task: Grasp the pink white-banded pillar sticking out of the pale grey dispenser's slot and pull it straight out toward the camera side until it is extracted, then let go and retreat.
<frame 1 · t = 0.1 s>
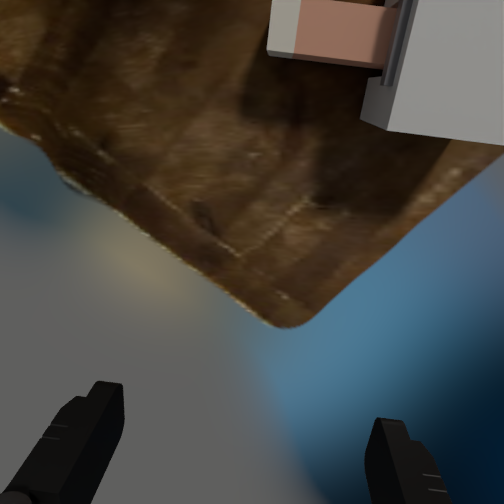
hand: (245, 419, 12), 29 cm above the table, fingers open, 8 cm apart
pink white-banded pillar: (375, 40, 30), point 3 cm above the table, slide at 0.0 cm
dispenser: (427, 52, 33), on the table
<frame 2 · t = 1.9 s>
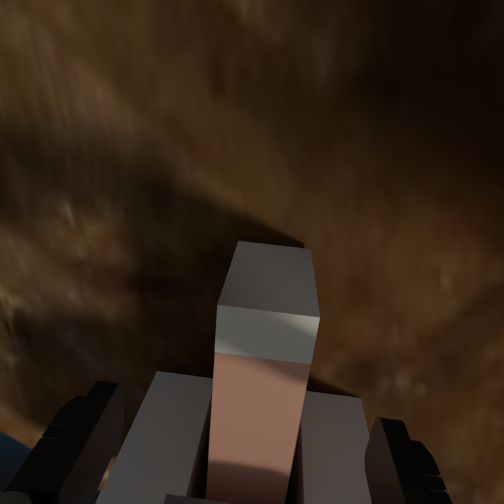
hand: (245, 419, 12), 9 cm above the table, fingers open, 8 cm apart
pink white-banded pillar: (253, 419, 19), point 3 cm above the table, slide at 0.0 cm
dispenser: (250, 439, 24), on the table
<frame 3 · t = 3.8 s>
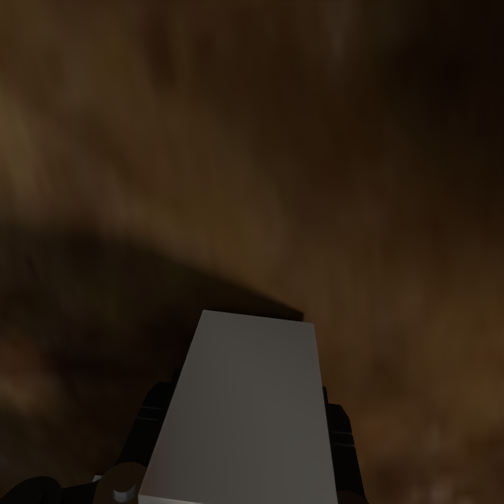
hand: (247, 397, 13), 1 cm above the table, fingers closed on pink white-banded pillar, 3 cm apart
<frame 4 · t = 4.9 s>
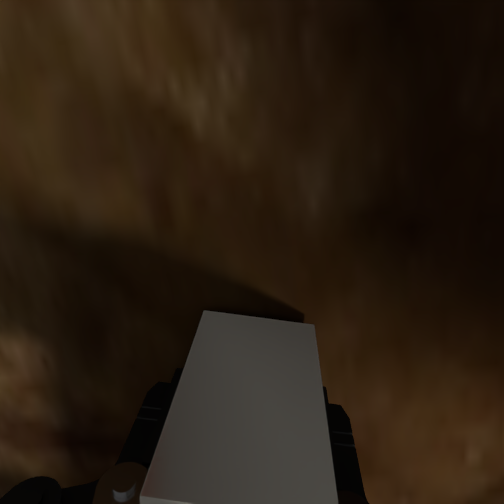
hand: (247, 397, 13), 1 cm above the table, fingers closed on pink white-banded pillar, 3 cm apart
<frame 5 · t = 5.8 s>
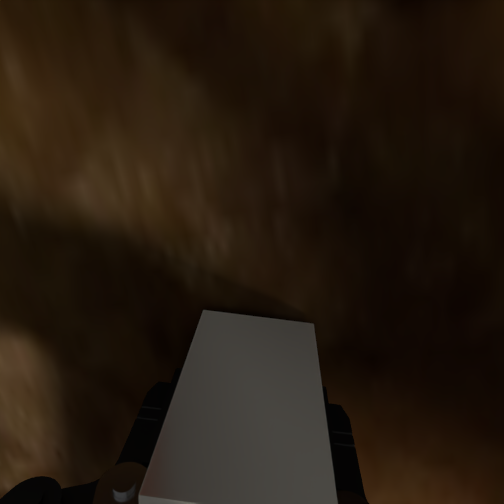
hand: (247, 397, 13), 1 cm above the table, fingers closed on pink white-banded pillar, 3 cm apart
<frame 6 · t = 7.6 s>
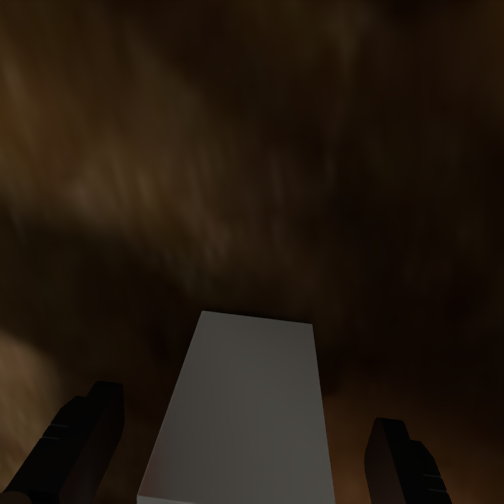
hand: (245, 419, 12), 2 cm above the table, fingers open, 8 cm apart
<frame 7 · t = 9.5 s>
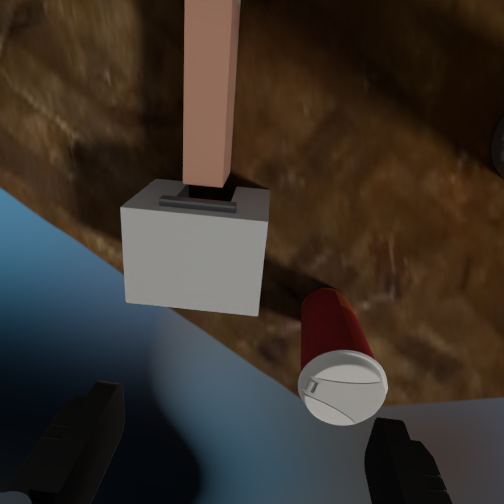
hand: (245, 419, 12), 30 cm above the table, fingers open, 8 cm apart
paper cup: (325, 307, 45), on the table
pink white-banded pillar: (211, 83, 33), point 3 cm above the table, slide at 8.9 cm
dispenser: (211, 224, 42), on the table
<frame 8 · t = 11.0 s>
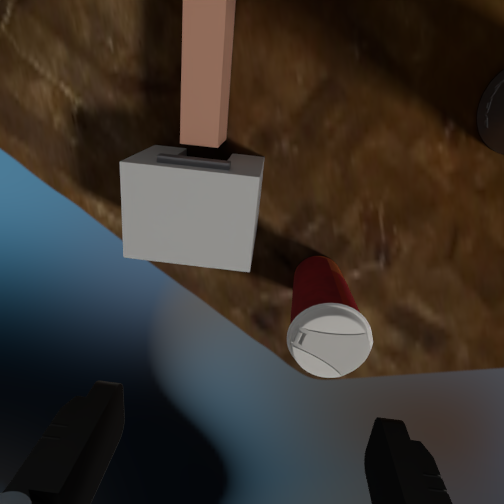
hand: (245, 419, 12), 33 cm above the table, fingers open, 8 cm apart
paper cup: (317, 275, 47), on the table
pink white-banded pillar: (209, 47, 35), point 3 cm above the table, slide at 8.9 cm
dispenser: (207, 191, 43), on the table
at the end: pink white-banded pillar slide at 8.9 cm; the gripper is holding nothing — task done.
